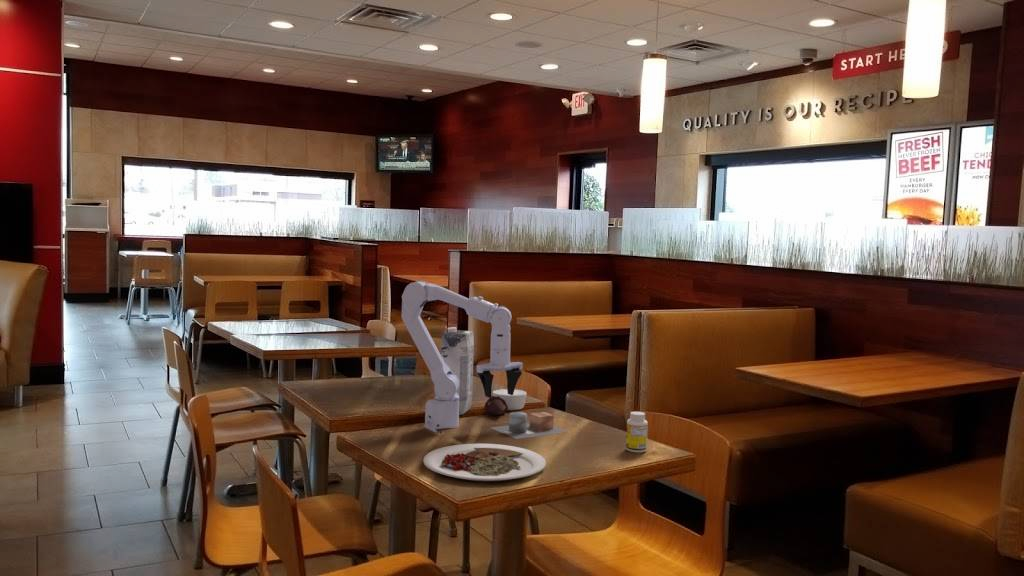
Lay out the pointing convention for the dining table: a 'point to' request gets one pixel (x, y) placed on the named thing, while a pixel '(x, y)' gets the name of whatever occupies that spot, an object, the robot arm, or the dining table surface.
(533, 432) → the board
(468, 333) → the juice carton
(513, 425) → the slate cylinder
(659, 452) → the dining table surface
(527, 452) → the plated food
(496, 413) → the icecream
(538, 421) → the terracotta block
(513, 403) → the ramekin
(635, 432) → the supplement bottle
